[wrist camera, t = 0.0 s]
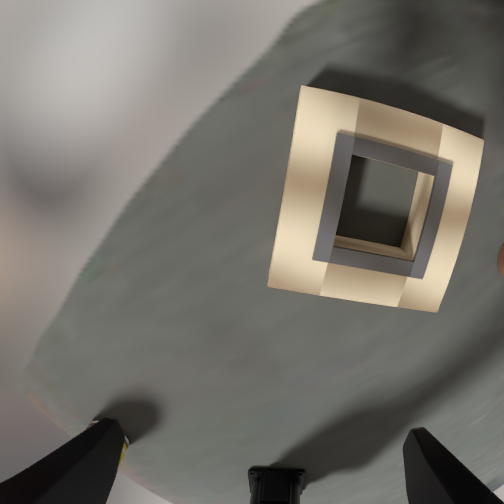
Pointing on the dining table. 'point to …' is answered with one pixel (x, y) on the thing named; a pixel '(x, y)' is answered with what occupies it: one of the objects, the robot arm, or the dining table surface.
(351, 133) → the socket block
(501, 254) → the peg
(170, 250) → the dining table surface
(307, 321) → the dining table surface
